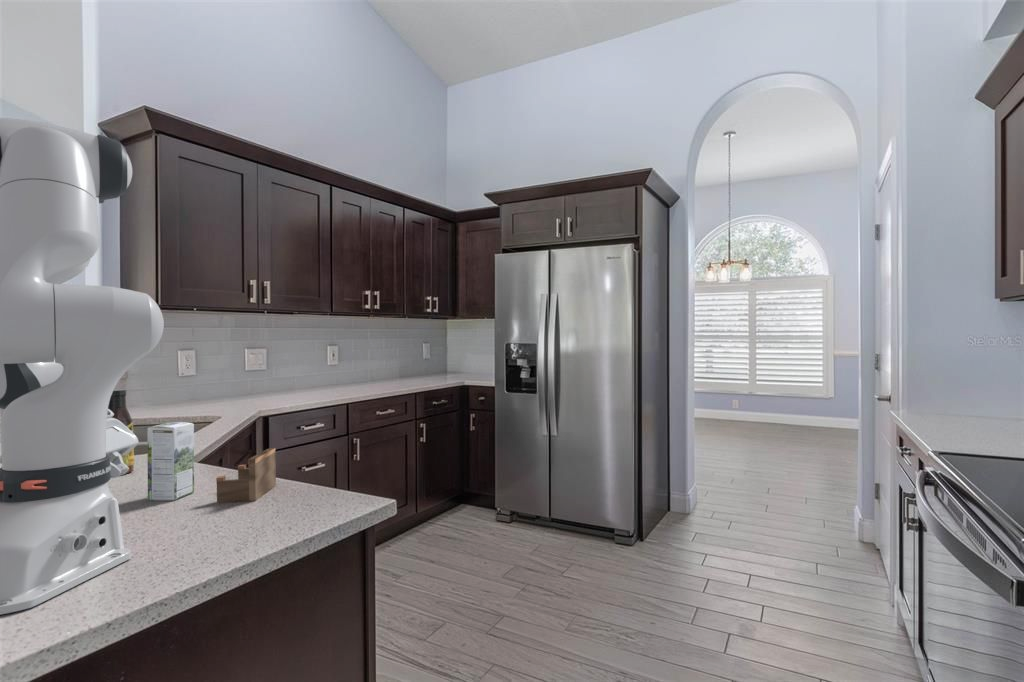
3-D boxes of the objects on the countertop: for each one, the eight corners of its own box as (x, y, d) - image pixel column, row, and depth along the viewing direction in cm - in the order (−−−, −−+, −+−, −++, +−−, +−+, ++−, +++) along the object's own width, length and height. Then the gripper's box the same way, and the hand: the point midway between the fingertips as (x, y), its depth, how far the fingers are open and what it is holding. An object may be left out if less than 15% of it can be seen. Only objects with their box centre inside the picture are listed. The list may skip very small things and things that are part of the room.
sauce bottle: (136, 473, 126) (134, 389, 126) (103, 478, 121) (101, 391, 121) (131, 468, 130) (130, 388, 130) (99, 473, 126) (98, 390, 126)
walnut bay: (256, 500, 102) (255, 459, 102) (216, 502, 101) (215, 460, 101) (276, 485, 113) (275, 448, 113) (240, 487, 112) (239, 449, 112)
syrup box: (168, 492, 109) (167, 421, 109) (195, 492, 108) (194, 421, 108) (147, 500, 103) (145, 426, 103) (175, 501, 103) (173, 426, 103)
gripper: (37, 422, 94) (97, 475, 95) (114, 407, 115) (163, 451, 115) (11, 448, 94) (71, 501, 95) (93, 429, 114) (141, 472, 115)
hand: (122, 473), depth 105 cm, fingers closed
